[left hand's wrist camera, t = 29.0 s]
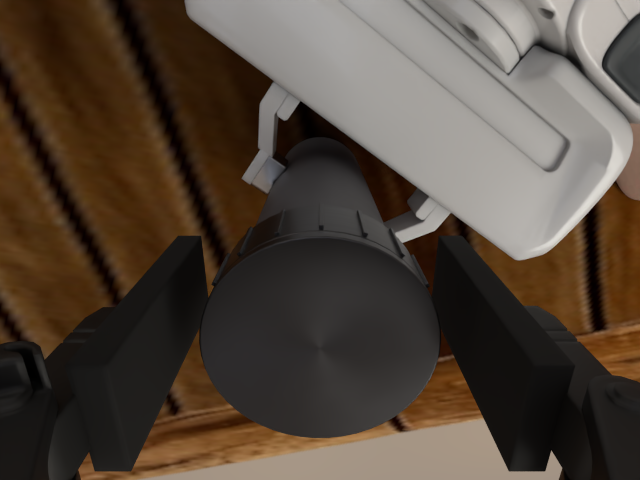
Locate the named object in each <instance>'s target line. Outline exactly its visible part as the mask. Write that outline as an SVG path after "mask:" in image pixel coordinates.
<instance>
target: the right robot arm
mask: <svg viewBox="0 0 640 480" xmlns="http://www.w3.org/2000/svg"><path fill="white" fill-rule="evenodd" d="M184 1H185V7H186V12H187V15H188V16H189V18H190V19H191V20H193V21H194V22H195V23H197V24H198V25H199V26H201V27H202V28H203V29H205V30H206V31H207V32H209V33H210V34H211V35H213V36H214V37H215V38H217V39H218V40H219V41H221V42H222V43H223V44H225V45H226V46H227V47H229V48H230V49H231V50H233V51H234V52H236V53H237V54H238V55H240V56H241V57H242V58H244V59H245V60H246V61H248V62H249V63H250V64H252V65H253V66H254V67H256V68H257V69H258V70H260V71H261V72H262V73H264V74H265V75H267V76H268V77H269V78H271V79H272V80H273V81H274V82H273V83H272V85H271V86H270V88H269V90H268V91H267V93H266V94H265V96H264V98H263V99H262V101H261V102H260V109H259V137H258V148H259V149H260V151H259V152H258V154H257V155H256V157H255V158H254V160H253V162H252V163H251V165H250V166H249V168H248V169H247V171H246V172H245V174H244V175H243V177H242V179H243V180H244V181H246V182H247V183H248V184H250V185H252V186H254V187H255V188H257V189H258V190H260V191H261V192H263V193H264V194H266V195H268V193H269V192H270V191H271V189H272V187H273V185H274V183H275V180H277V179H278V178H279V177H280V176H281V175H282V173H283V172H284V170H285V169H286V167H287V164H288V160H287V159H286V158H284V157H283V156H282V155H280V154H279V153H277V152H276V144H277V129H278V117H279V118H281V119H282V120H284V121H285V120H288V118H289V117H290V116H291V114H292V113H293V111H294V110H295V108H296V107H297V105H298V104H299V102H300V101H302V102H303V103H304V104H306V105H307V106H308V107H310V108H311V109H312V110H314V111H315V112H316V113H318V114H319V115H320V116H322V117H323V118H324V119H326V120H327V121H328V122H330V123H331V124H333V125H334V126H335V127H337V128H338V129H339V130H341V131H342V132H343V133H345V134H346V135H347V136H349V137H350V138H351V139H353V140H354V141H355V142H357V143H358V144H359V145H361V146H362V147H364V148H365V149H366V150H368V151H369V152H370V153H372V154H373V155H374V156H376V157H377V158H378V159H380V160H381V161H382V162H384V163H385V164H386V165H388V166H389V167H390V168H392V169H393V170H394V171H396V172H397V173H399V174H400V175H401V176H403V177H404V178H405V179H407V180H408V181H409V182H411V183H412V184H413V185H415V186H416V187H417V189H416V191H415V192H414V193H413V194H412V196H411V197H410V198H409V199H408V201H407V204H408V205H409V206H410V208H411V209H412V210H411V211H409V212H406V213H404V214H402V215H400V216H398V217H395V218H393V219H391V220H389V221H386V222H384V226H385V227H387V228H388V229H390V228H392V229H393V230H394V233H395V235H396V236H397V237H398V238H399V240H400V241H401V242H402V243H403V242H406V241H408V240H411V239H414V238H417V237H419V236H422V235H425V234H427V233H430V232H433V231H435V230H436V229H437V228H438V227H439V225H440V224H441V223H442V222H443V221H444V220H445V219H446V218H447V216H448V215H449V214H450V213H452V214H454V215H455V216H456V217H458V218H459V219H461V220H462V221H463V222H465V223H466V224H467V225H469V226H470V227H471V228H473V229H474V230H475V231H477V232H478V233H479V234H481V235H482V236H483V237H485V238H486V239H487V240H489V241H490V242H491V243H493V244H494V245H496V246H497V247H498V248H500V249H501V250H502V251H504V252H505V253H506V254H508V255H509V256H510V257H512V258H513V259H515V260H524V259H528V258H532V257H536V256H539V255H543V254H545V253H546V252H548V251H549V250H551V249H552V248H553V247H554V246H555V245H556V244H558V243H559V242H560V241H561V240H562V239H563V238H564V237H565V236H566V235H567V234H568V233H569V232H570V231H571V230H572V229H573V228H574V227H575V226H576V225H577V224H578V223H579V222H580V220H581V219H582V218H583V217H584V216H585V215H586V214H587V213H588V212H589V211H590V210H591V209H592V207H593V206H594V205H595V204H596V203H597V202H598V201H599V200H600V198H601V197H602V196H603V195H604V194H605V192H606V191H607V190H608V189H609V188H610V187H611V185H612V184H613V183H614V182H615V180H616V179H617V178H618V176H619V175H620V174H621V172H622V170H623V169H624V167H625V166H626V164H627V162H628V159H629V157H630V154H631V151H632V147H633V132H632V128H631V126H630V124H640V0H184Z"/></svg>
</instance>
